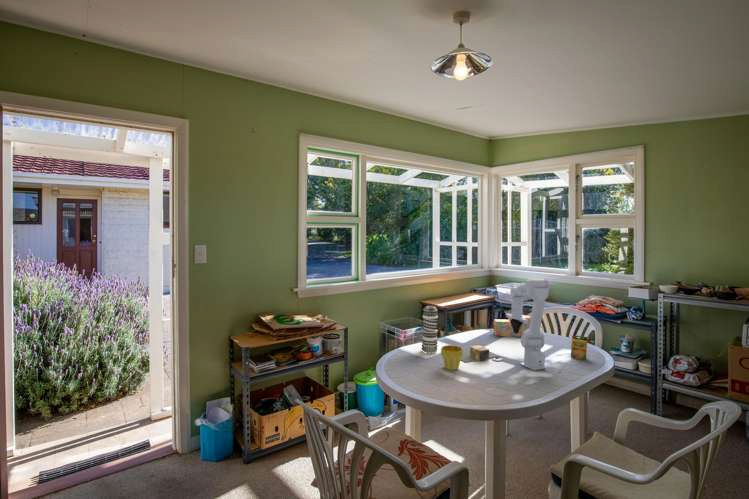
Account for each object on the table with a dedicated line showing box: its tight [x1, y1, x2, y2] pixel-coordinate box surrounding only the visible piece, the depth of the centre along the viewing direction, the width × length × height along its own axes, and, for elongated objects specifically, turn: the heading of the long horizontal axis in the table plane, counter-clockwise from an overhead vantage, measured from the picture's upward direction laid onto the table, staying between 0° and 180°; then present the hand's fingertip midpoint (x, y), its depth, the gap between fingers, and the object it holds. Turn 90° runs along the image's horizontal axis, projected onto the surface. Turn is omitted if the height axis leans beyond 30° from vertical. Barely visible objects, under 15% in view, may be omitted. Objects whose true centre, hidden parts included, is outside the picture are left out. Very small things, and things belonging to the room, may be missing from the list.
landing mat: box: [460, 347, 500, 364], centre depth 226 cm, size 18×22×1 cm
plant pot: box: [440, 344, 463, 371], centre depth 206 cm, size 10×10×10 cm
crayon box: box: [570, 334, 588, 361], centre depth 221 cm, size 7×3×12 cm, turn 62°
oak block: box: [470, 344, 490, 361], centre depth 220 cm, size 5×6×8 cm
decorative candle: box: [421, 305, 440, 354], centre depth 228 cm, size 9×9×25 cm
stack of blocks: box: [493, 314, 531, 338], centre depth 262 cm, size 21×6×12 cm, turn 87°
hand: (516, 333), depth 230 cm, fingers closed
